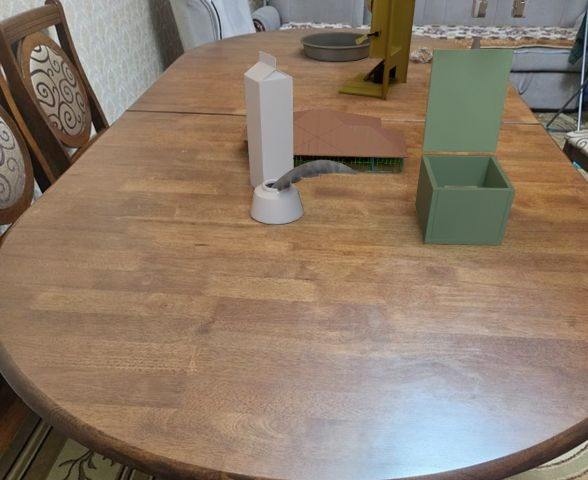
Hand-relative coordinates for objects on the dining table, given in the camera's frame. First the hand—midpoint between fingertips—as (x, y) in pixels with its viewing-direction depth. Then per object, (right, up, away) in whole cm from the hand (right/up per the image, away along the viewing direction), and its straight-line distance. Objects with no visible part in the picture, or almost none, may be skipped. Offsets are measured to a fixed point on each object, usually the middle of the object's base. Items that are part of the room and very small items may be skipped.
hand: (497, 17), depth 69 cm
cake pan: (-11, +56, +112) cm, 126 cm away
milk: (-30, -13, +31) cm, 45 cm away
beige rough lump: (+15, +49, +103) cm, 115 cm away
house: (-20, -1, +45) cm, 49 cm away
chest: (0, -22, +20) cm, 29 cm away
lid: (+1, -4, +15) cm, 15 cm away
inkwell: (-24, -20, +22) cm, 39 cm away
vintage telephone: (-4, +30, +81) cm, 87 cm away
